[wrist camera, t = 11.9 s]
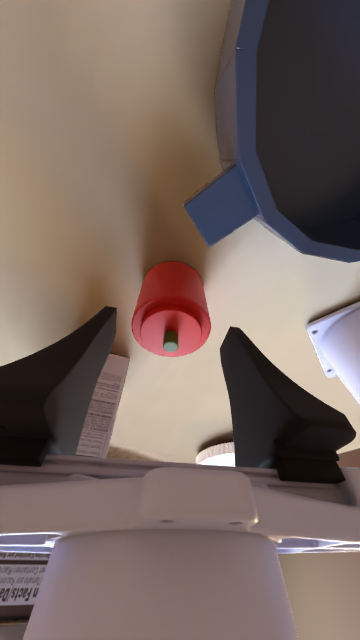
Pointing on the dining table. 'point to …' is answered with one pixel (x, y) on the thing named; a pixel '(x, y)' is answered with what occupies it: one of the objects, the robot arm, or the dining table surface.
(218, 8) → the dining table surface
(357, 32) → the pot
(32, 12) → the dining table surface
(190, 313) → the pepper
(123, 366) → the coffee box
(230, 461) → the plastic lid
